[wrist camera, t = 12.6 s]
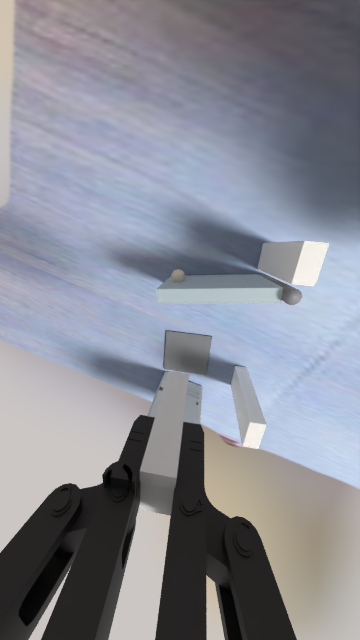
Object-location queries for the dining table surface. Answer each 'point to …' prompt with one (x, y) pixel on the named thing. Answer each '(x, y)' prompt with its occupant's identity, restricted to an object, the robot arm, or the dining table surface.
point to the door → (225, 289)
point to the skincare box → (192, 401)
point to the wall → (293, 267)
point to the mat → (187, 352)
